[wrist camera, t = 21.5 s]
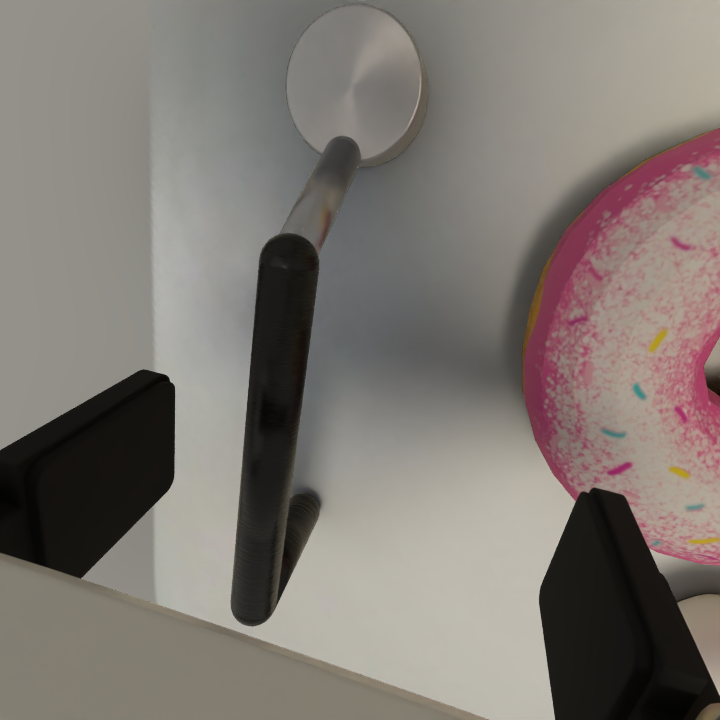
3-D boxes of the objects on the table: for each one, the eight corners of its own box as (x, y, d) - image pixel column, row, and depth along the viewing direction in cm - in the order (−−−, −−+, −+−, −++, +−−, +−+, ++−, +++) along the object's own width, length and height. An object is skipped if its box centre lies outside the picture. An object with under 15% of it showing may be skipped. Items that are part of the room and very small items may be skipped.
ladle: (312, 17, 16) (212, -97, 10) (441, 33, 16) (420, -79, 9) (262, 503, 23) (184, 616, 17) (349, 528, 23) (302, 655, 16)
